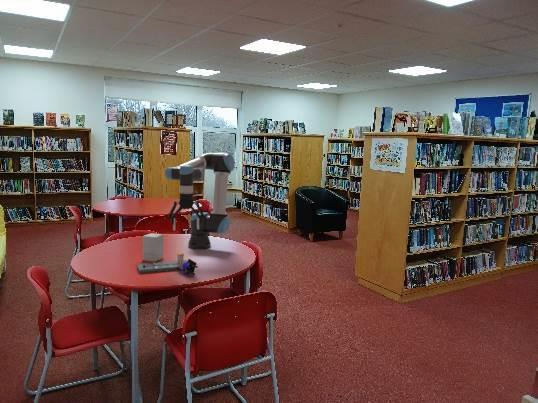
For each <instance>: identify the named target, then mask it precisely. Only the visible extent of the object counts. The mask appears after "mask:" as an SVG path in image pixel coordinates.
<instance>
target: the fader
mask: <svg viewBox="0 0 538 403" xmlns="http://www.w3.org/2000/svg"><path fill="white" fill-rule="evenodd" d="M176 255H177V260H176V261H177V263H179V261H181V260H184V257H185V254H184V253H183V252H178V253H176Z"/></svg>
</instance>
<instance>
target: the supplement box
mask: <svg viewBox="0 0 538 403" xmlns="http://www.w3.org/2000/svg"><path fill="white" fill-rule="evenodd" d="M142 259H143V261H148V262H153V263H154V262H159V261H160V260H162V259H164V234H161V233H152V232H151V233H148V234H144V235H142Z"/></svg>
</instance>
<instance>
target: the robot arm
mask: <svg viewBox="0 0 538 403" xmlns="http://www.w3.org/2000/svg"><path fill="white" fill-rule="evenodd" d="M234 169H235V159H234V156H233V155H232V153H226V152H207V153H203V154H200V155H198V156H195V157H194V159H192V160H188V161H186V162H184V163H182V164H179V165H177V166H168V167H166V168H165V171H164V172H165V174H164V175H165V177H166V179H167V180H172V181H179V200H178V201H176V200H175V201H173V205H172V207H171V209H170V211H169V213H168V215H167V217H168V218H169V219H171V220H170V222H171V223H170V224H171V225H172V230H173V231H176V218H177V215H179V214H180V212H181V211H182V210H190V209H191V211H193V212H194V213H193V214H191V217H190V237H189V240H188V243H187V245H188V246H187V247H188V248H189V249H194V250H195V249H196V250H203V249H209V248H211V245H212V244H211V241H210V237H209V233H211V234H218V235H219V234H222V235H223V234H226V233H227V232H228V231H229V229H230V226H231V219H230V217H229V216H228V212H226V208H227V197H228V196H227V195H228V184H229V183H228V182H229V176H230V175H231V173H232V171H234ZM204 170H208V171H209V170H211V171H213V174H214V190H213V201H212V203H213V204H212V211H211V212H210V214H209V212H203V210H202V208H201V206H200V203H199V201H198V200H194V182H199V181H201V180H203V178H204V176H205V172H204ZM194 205H195V206H196V208H197V209H198V211H197V210H196V209H195V208H194V207H193V206H194ZM177 206H179V207H178V208H177ZM176 208H177V209H176ZM175 210H176V211H175Z"/></svg>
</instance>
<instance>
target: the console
mask: <svg viewBox="0 0 538 403" xmlns="http://www.w3.org/2000/svg"><path fill="white" fill-rule="evenodd" d="M185 261H186V262H188V259H185ZM137 270H138V274H139V275H140V274H152V273H160V272H161V273H162V272H163V273H164V272H174V271H183V269H180V268H179V267H178V263H177V260H167V261H156V262H154V261H153V262H145V263H144V262H142V263H137Z"/></svg>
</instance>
